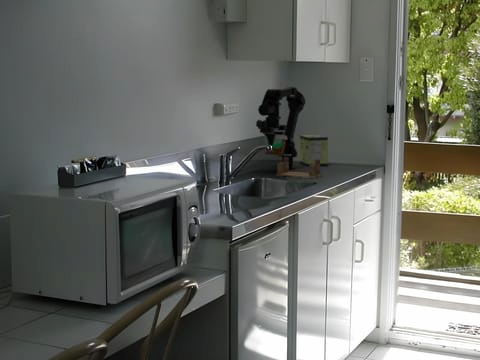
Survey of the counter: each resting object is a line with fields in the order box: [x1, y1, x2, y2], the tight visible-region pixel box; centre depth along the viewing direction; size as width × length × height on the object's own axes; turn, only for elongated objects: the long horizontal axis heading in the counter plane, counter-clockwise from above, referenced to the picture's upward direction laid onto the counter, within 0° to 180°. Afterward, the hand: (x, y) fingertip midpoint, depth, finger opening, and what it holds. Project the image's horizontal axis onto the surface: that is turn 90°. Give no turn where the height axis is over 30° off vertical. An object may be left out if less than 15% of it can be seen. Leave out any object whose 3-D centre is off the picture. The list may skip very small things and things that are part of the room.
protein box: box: [299, 134, 329, 168], centre depth 391 cm, size 10×16×16 cm
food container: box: [263, 134, 287, 157], centre depth 363 cm, size 12×6×10 cm, turn 62°
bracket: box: [275, 157, 322, 179], centre depth 351 cm, size 10×19×8 cm, turn 62°
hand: (273, 146), depth 363 cm, fingers closed on food container, 6 cm apart
